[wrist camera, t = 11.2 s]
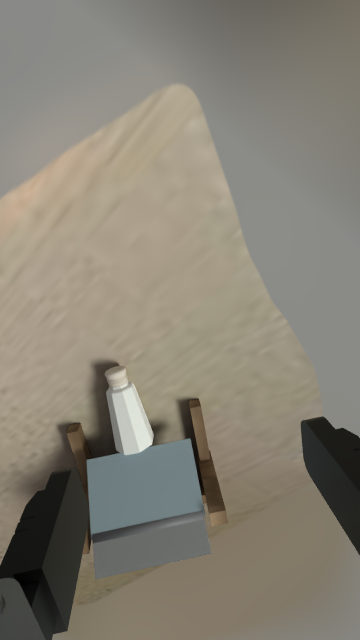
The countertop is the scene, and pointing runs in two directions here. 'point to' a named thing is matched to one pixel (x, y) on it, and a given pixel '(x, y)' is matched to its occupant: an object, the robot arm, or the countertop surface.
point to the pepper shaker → (127, 414)
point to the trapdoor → (145, 509)
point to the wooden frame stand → (208, 474)
